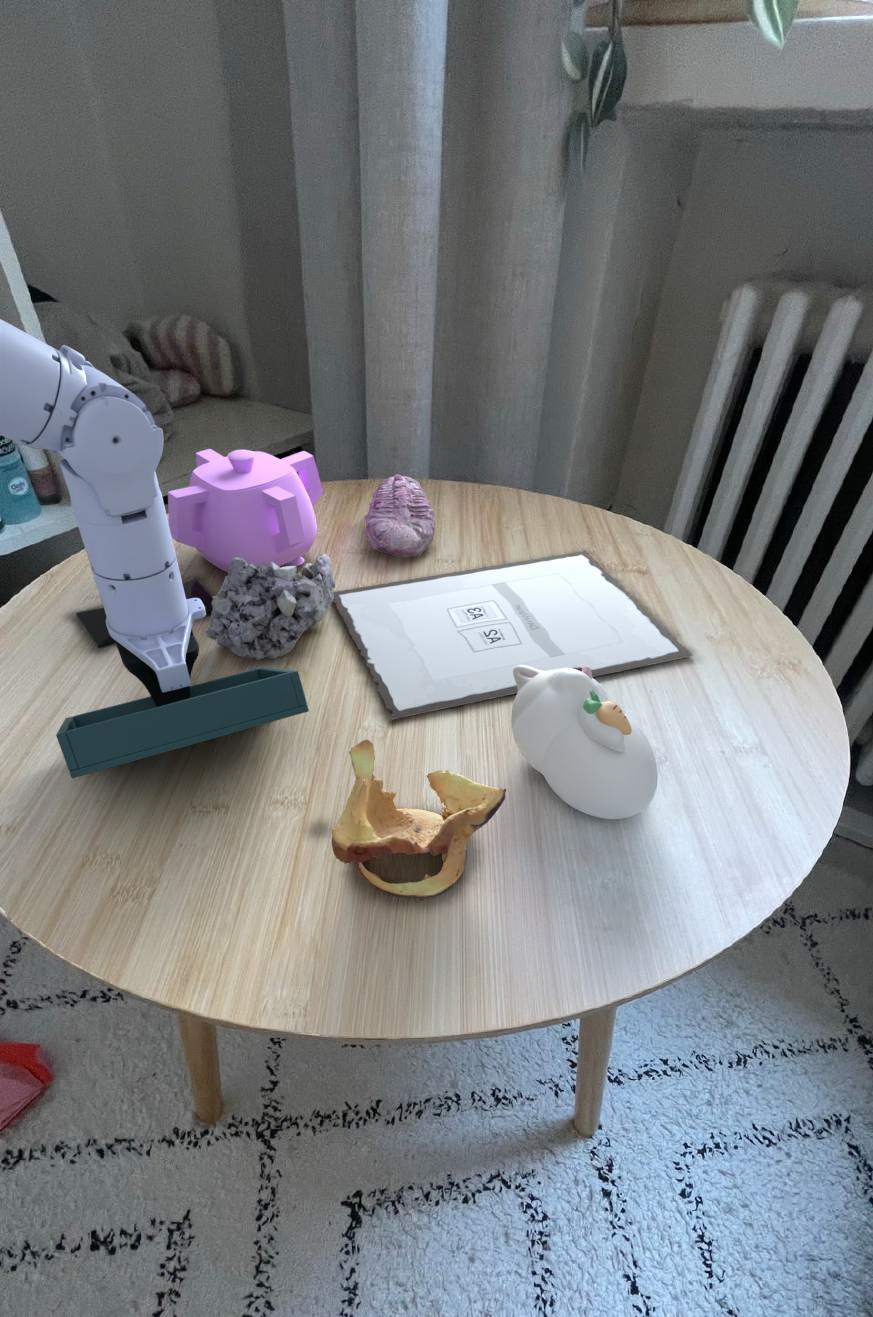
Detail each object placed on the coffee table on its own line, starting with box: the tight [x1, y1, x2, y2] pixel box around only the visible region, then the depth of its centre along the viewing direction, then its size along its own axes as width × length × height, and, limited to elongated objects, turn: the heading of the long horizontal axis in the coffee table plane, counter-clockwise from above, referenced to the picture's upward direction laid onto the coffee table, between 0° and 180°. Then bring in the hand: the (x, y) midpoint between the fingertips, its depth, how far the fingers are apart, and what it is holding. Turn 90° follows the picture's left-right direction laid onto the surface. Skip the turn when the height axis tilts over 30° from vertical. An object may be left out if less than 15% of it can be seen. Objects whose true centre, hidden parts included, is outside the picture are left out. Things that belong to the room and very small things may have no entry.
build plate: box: [75, 578, 213, 650], centre depth 75 cm, size 12×7×5 cm, turn 126°
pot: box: [167, 448, 324, 573], centre depth 81 cm, size 18×17×12 cm
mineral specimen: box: [203, 552, 336, 661], centre depth 72 cm, size 12×9×10 cm
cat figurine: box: [510, 665, 659, 820], centre depth 58 cm, size 10×8×15 cm
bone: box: [331, 738, 507, 902], centre depth 52 cm, size 12×10×8 cm
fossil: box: [363, 473, 436, 558], centre depth 88 cm, size 8×14×5 cm, turn 4°
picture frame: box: [332, 550, 694, 720], centre depth 76 cm, size 22×1×30 cm
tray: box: [55, 666, 310, 779], centre depth 58 cm, size 16×13×3 cm
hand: (175, 711), depth 63 cm, fingers closed
